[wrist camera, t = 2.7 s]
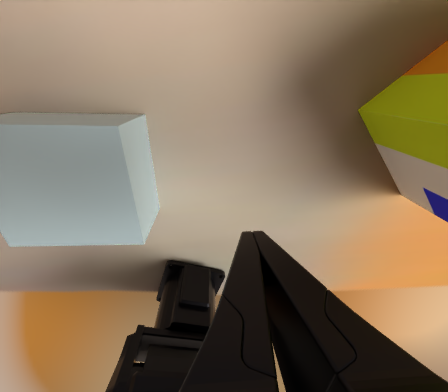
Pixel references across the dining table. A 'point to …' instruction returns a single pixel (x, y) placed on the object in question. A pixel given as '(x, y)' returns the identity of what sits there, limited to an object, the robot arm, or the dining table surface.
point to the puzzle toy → (415, 131)
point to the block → (76, 179)
